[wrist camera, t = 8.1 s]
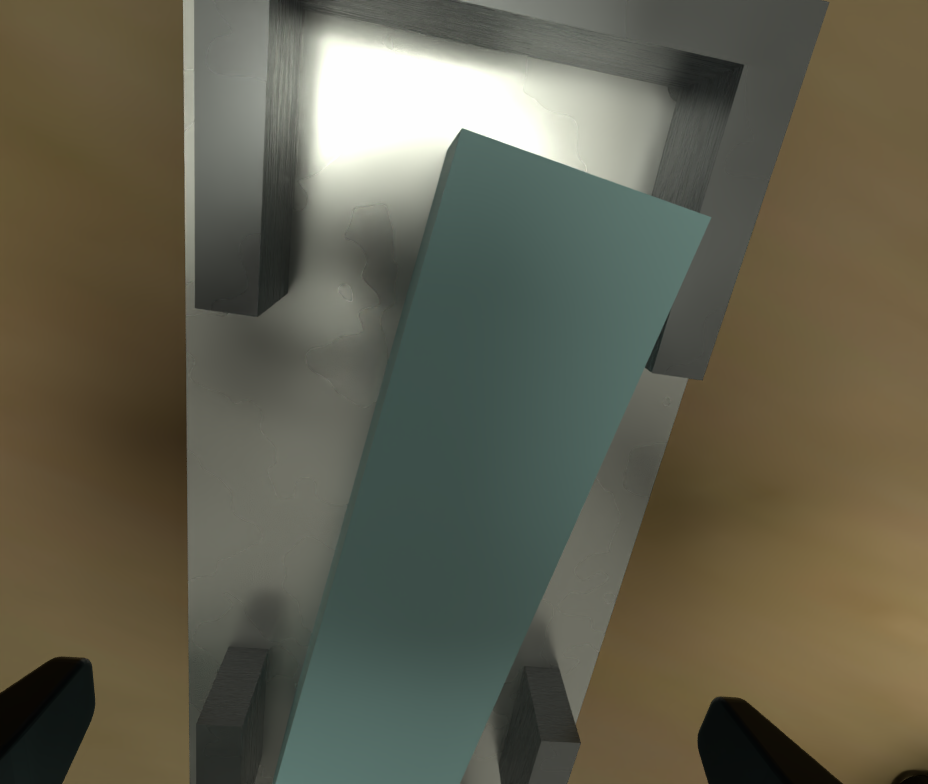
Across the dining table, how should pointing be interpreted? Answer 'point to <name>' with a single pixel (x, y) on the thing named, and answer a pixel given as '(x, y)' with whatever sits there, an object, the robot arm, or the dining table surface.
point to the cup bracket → (386, 285)
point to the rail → (479, 455)
